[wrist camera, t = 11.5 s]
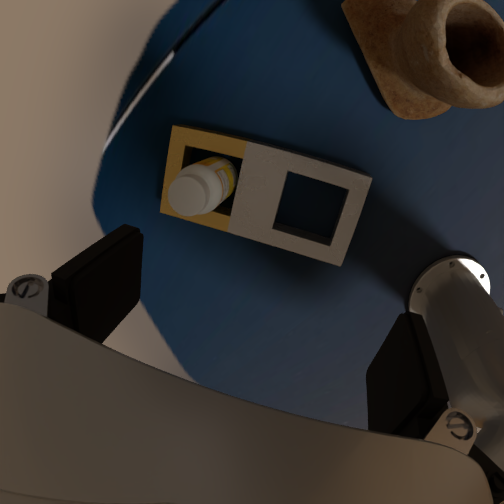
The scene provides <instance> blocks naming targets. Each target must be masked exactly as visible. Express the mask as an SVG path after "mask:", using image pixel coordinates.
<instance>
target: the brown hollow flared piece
mask: <svg viewBox="0 0 504 504" xmlns="http://www.w3.org/2000/svg"><path fill="white" fill-rule="evenodd" d="M341 7H342V9H343V12H344V14H345V16H346V18H347V20H348V22H349V25H350V27H351V29H352V32H353V34H354V36H355V38H356V40H357V42H358V44H359V46H360V48H361V50H362V52H363V55H364V57H365V60H366V62H367V64H368V66H369V69H370V71H371V73H372V75H373V77H374V79H375V81H376V83H377V86H378V88H379V90H380V92H381V94H382V96H383V98H384V100H385V102H386V104H387V105H388V107H389V108H390V110H391V111H392V112H393V113H394V115H396V116H398V117H400V118H403V119H411V120H418V119H427V118H431V117H434V116H437V115H439V114H442V113H444V112H446V111H447V110H448V109H449V108H450V107H451V106H454V107H459V108H472V109H476V108H489V107H493V106H496V105H498V104H500V103H502V102H503V101H504V22H503V20H502V19H501V18H500V16H499V15H498V14H497V13H496V11H495V10H494V9H493V8H492V7H491V6H490V5H489V4H488V3H486V2H485V1H483V0H418V1H415V0H345V1H344V2H343V3H342V4H341Z"/></svg>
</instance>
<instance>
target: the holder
mask: <svg viewBox="0 0 504 504" xmlns="http://www.w3.org/2000/svg"><path fill="white" fill-rule="evenodd" d="M193 147H196V148H201V149H205V150H209V151H214V152H218V153H222V154H226V155H230V156H234V157H238V158H242V159H243V162H242V166H241V171H240V175H239V180H238V184H237V189H236V193H235V198H234V202H233V207H232V209H230V208H227V207H223V206H220V205H218V206H217V207H216V208H215V209H214V210H212V211H210V212H208V213H206V214H196V215H194V216H183V215H180V214H178V213H177V212H176V211H174V209H173V208H172V207H171V205H170V203H169V200H168V189H169V187H170V185H171V183H172V182H173V181H174V180H175V178H176V176H177V175H178V173H179V172H180V171H181V170H182V169H184V168H185V167H187V166H189V165H190V161H191V155H192V149H193ZM289 171H290V172H294V173H297V174H301V175H304V176H308V177H311V178H314V179H317V180H321V181H324V182H327V183H330V184H334V185H337V186H340V187H343V188H346V193H345V196H344V199H343V202H342V205H341V208H340V211H339V214H338V217H337V220H336V223H335V226H334V229H333V231H332V234H331V237H330V238H327V237H324V236H321V235H318V234H315V233H311V232H308V231H305V230H301V229H298V228H295V227H292V226H288V225H285V224H282V223H278V222H275V221H276V217H277V213H278V210H279V206H280V202H281V198H282V195H283V191H284V187H285V184H286V180H287V176H288V172H289ZM371 181H372V177H371V176H370V174H368V173H365V172H362V171H359V170H356V169H353V168H350V167H347V166H344V165H341V164H338V163H335V162H331V161H328V160H325V159H322V158H318V157H315V156H312V155H308V154H305V153H301V152H298V151H294V150H291V149H287V148H283V147H280V146H276V145H272V144H268V143H264V142H260V141H256V140H252V139H248V138H244V137H240V136H236V135H231V134H227V133H222V132H218V131H213V130H208V129H204V128H199V127H194V126H188V125H183V124H180V125H173V127H172V132H171V138H170V144H169V150H168V157H167V163H166V170H165V177H164V184H163V192H162V199H161V208H160V212H161V213H164V214H168V215H171V216H175V217H178V218H181V219H185V220H188V221H192V222H195V223H198V224H202V225H205V226H208V227H212V228H215V229H219V230H222V231H225V232H229V233H232V234H235V235H239V236H242V237H245V238H249V239H252V240H255V241H259V242H262V243H265V244H269V245H272V246H275V247H278V248H282V249H285V250H288V251H292V252H295V253H298V254H301V255H305V256H308V257H311V258H314V259H318V260H321V261H324V262H327V263H331V264H334V265H337V266H340V267H341V265H342V262H343V260H344V257H345V254H346V252H347V249H348V246H349V244H350V241H351V238H352V236H353V233H354V230H355V228H356V225H357V222H358V219H359V216H360V214H361V211H362V208H363V205H364V202H365V199H366V196H367V193H368V190H369V187H370V184H371Z"/></svg>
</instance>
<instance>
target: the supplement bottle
mask: <svg viewBox="0 0 504 504" xmlns="http://www.w3.org/2000/svg"><path fill="white" fill-rule="evenodd" d="M237 183H238V174H237V171H236V168H235V167H234V165H233V164H232V163H231V162H230V161H229V160H227V159H225V158H223V157H210V158H207V159H204V160H202V161H199V162H197V163H194V164H192V165H189V166H187V167H185V168H184V169H182V170H181V171H180V172H179V173H178V175H177V176H176V178H175V180H174V181H173V182H172V183H171V185H170V187H169V189H168V200H169V203H170V205H171V207H172V208H173V209H174V211H176V212H177V213H178V214H180V215H183V216H194V215H196V214H206V213H208V212H210V211H212V210H214V209H215V208H216V207H217V206H218V205H219V204H221V203H222V202H223V201H224V200H225V199H226V198H227V197H229V196H230V195H231V194H232V193H233V192H234V190H235V189H236V186H237Z"/></svg>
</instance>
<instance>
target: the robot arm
mask: <svg viewBox="0 0 504 504" xmlns="http://www.w3.org/2000/svg"><path fill="white" fill-rule="evenodd" d="M142 252H143V234H142V233H140V229H139V228H136V227H133V226H130V225H127V224H123V225H122V226H120V227H119V228H117V229H115V230H114V231H112V232H111V233H109V234H108V235H106V236H105V237H103V238H102V239H100V240H99V241H97V242H96V243H94V244H93V245H91V246H90V247H88V248H87V249H85V250H84V251H82V252H81V253H79V254H78V255H77V256H75V257H74V258H72V259H71V260H69V261H68V262H67V263H65V264H64V265H62V266H61V267H59V268H58V269H57V270H55V271H54V272H53V273H51V276H52V279H51V280H50V281H48V282H47V280H46V279H45V278H44V277H42V276H40V275H36V274H27V275H22V276H19V277H17V278H15V279H14V280H12V282H11V283H10V284H9V286H8V288H7V292H6V293H5V294H0V504H504V316H503V309H502V308H499V307H497V305H496V304H495V302H494V301H493V299H492V298H491V296H490V282H489V278H488V275H487V273H486V271H485V270H484V268H483V267H482V266H481V265H480V263H479V262H477V261H476V260H474V259H473V258H470V257H468V256H463V255H453V256H448V257H444V258H442V259H440V260H438V261H435V262H434V263H433V264H431V265H430V266H428V267H427V268H426V269H425V270H424V271H423V272H422V273H421V274H420V275H419V277H418V278H417V279H416V281H415V283H414V285H413V286H412V289H411V292H410V295H409V301H408V307H409V311H406V312H405V313H404V314H402V313H401V314H400V315H399V316H398V318H397V320H396V321H395V323H394V325H393V327H392V329H391V330H390V332H389V334H388V336H387V337H386V339H385V341H384V342H383V344H382V346H381V348H380V349H379V351H378V353H377V354H376V356H375V357H374V359H373V361H372V362H371V364H370V365H369V367H368V369H367V373H366V385H367V404H368V430H364V429H359V428H354V427H349V426H344V425H339V424H335V423H330V422H326V421H321V420H317V419H313V418H308V417H304V416H300V415H297V414H293V413H289V412H285V411H282V410H278V409H274V408H271V407H267V406H264V405H260V404H257V403H254V402H250V401H247V400H244V399H241V398H237V397H234V396H231V395H228V394H225V393H222V392H219V391H216V390H213V389H210V388H208V387H205V386H202V385H199V384H196V383H194V382H191V381H188V380H185V379H183V378H180V377H178V376H175V375H172V374H170V373H167V372H165V371H162V370H160V369H157V368H155V367H152V366H150V365H148V364H145V363H143V362H141V361H138V360H136V359H134V358H131V357H129V356H127V355H124V354H122V353H120V352H118V351H116V350H113V349H111V348H109V347H107V346H105V345H103V344H102V343H103V342H104V340H105V339H106V338H107V337H108V336H109V335H110V333H112V331H113V330H114V329H115V328H116V327H117V326H118V324H119V323H120V322H121V321H122V320H123V319H124V318H125V317H126V315H128V313H129V312H130V311H131V310H132V309H133V308H134V307H135V306H136V305H137V303H138V301H139V299H140V290H141V268H142ZM450 262H451V263H450ZM448 401H449V402H450V405H451V407H452V408H449V409H448V405H447V402H448ZM476 427H478V428H481V430H480V431H479V433H477V428H476Z"/></svg>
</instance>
